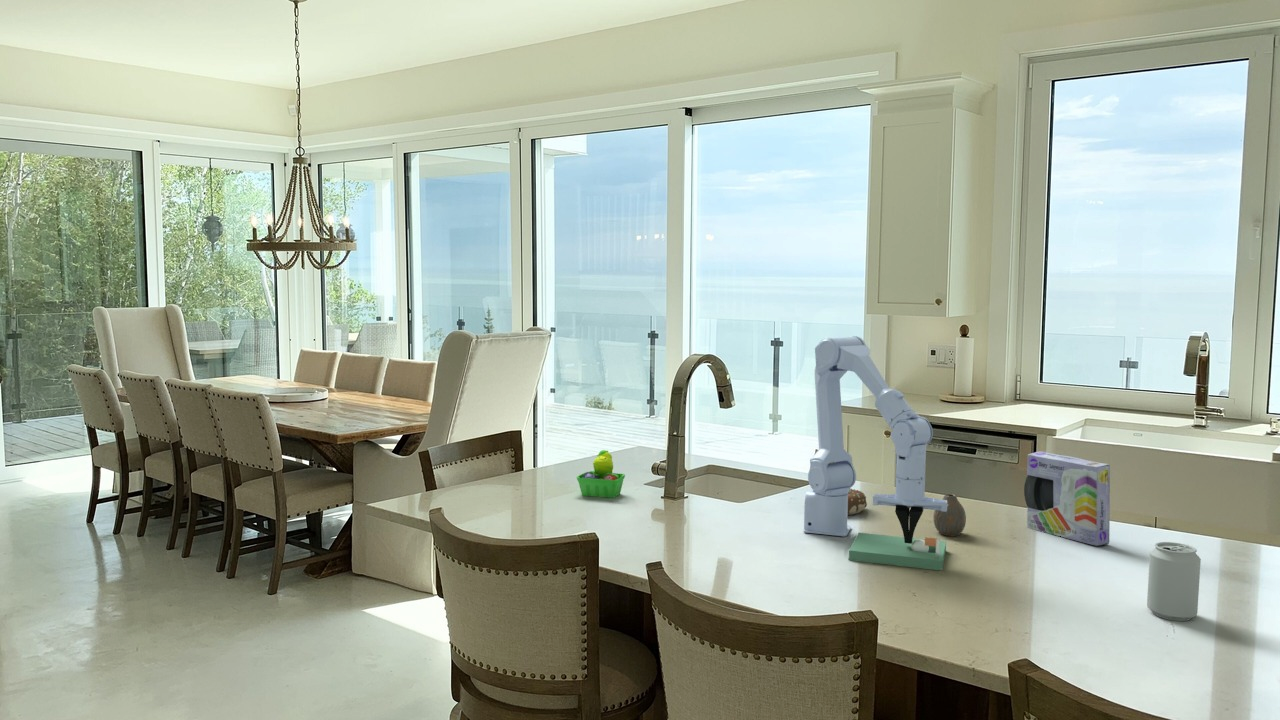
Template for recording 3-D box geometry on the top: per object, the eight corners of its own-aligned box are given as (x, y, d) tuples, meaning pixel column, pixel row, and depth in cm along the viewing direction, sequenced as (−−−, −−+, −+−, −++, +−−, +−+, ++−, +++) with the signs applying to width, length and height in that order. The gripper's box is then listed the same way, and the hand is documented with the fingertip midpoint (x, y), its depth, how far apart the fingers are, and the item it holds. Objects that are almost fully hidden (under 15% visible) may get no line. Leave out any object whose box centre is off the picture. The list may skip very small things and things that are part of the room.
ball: (928, 558, 187) (910, 557, 188) (929, 554, 190) (911, 553, 192) (928, 541, 187) (910, 540, 188) (929, 537, 190) (911, 537, 191)
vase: (967, 538, 203) (969, 499, 202) (934, 536, 205) (936, 498, 204) (963, 530, 210) (964, 492, 209) (931, 528, 211) (932, 490, 210)
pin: (924, 567, 183) (925, 537, 182) (924, 566, 184) (925, 536, 183) (938, 569, 182) (939, 539, 181) (938, 568, 183) (939, 538, 182)
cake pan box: (1020, 526, 213) (1024, 451, 212) (1035, 523, 216) (1039, 449, 214) (1095, 548, 196) (1099, 466, 195) (1110, 545, 199) (1115, 464, 197)
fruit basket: (575, 496, 241) (575, 453, 239) (587, 489, 249) (587, 447, 248) (617, 499, 237) (617, 456, 236) (627, 492, 246) (627, 450, 245)
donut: (869, 518, 220) (869, 498, 220) (810, 516, 222) (811, 495, 222) (864, 504, 234) (864, 484, 234) (809, 502, 236) (809, 482, 236)
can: (1137, 607, 162) (1140, 540, 161) (1177, 606, 162) (1181, 539, 161) (1164, 623, 154) (1169, 553, 153) (1207, 622, 155) (1211, 552, 154)
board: (848, 559, 188) (849, 550, 187) (858, 541, 201) (858, 532, 200) (941, 570, 181) (942, 560, 181) (945, 550, 194) (946, 541, 194)
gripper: (871, 478, 188) (869, 543, 189) (946, 484, 182) (944, 551, 184) (875, 471, 194) (874, 534, 195) (948, 476, 189) (946, 541, 190)
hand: (908, 542), depth 190 cm, fingers closed
